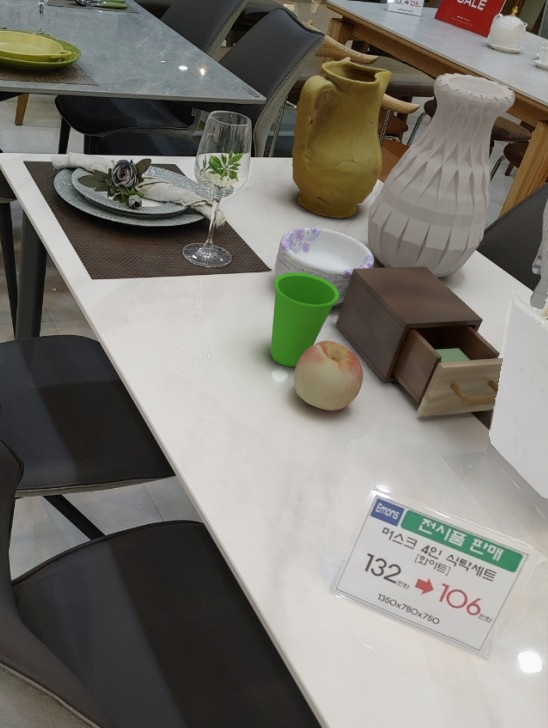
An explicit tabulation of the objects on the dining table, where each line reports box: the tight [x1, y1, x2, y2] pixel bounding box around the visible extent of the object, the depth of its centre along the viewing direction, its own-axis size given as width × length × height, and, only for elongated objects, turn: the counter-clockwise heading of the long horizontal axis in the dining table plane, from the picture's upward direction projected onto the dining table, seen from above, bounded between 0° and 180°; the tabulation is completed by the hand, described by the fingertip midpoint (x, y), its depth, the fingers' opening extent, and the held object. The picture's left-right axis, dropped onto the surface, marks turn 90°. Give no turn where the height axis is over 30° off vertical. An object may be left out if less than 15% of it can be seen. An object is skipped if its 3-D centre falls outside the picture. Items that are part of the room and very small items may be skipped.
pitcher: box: [291, 60, 393, 220], centre depth 147 cm, size 17×19×25 cm
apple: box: [293, 340, 364, 411], centre depth 101 cm, size 9×9×8 cm
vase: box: [367, 72, 516, 279], centre depth 129 cm, size 20×20×30 cm
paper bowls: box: [274, 226, 375, 307], centre depth 124 cm, size 15×15×8 cm
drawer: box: [391, 325, 504, 417], centre depth 105 cm, size 19×11×8 cm, turn 17°
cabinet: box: [335, 267, 484, 384], centre depth 113 cm, size 16×13×10 cm
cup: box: [270, 273, 339, 368], centre depth 108 cm, size 9×9×11 cm
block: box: [436, 348, 470, 362], centre depth 106 cm, size 4×4×4 cm
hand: (537, 288), depth 89 cm, fingers open, 8 cm apart
